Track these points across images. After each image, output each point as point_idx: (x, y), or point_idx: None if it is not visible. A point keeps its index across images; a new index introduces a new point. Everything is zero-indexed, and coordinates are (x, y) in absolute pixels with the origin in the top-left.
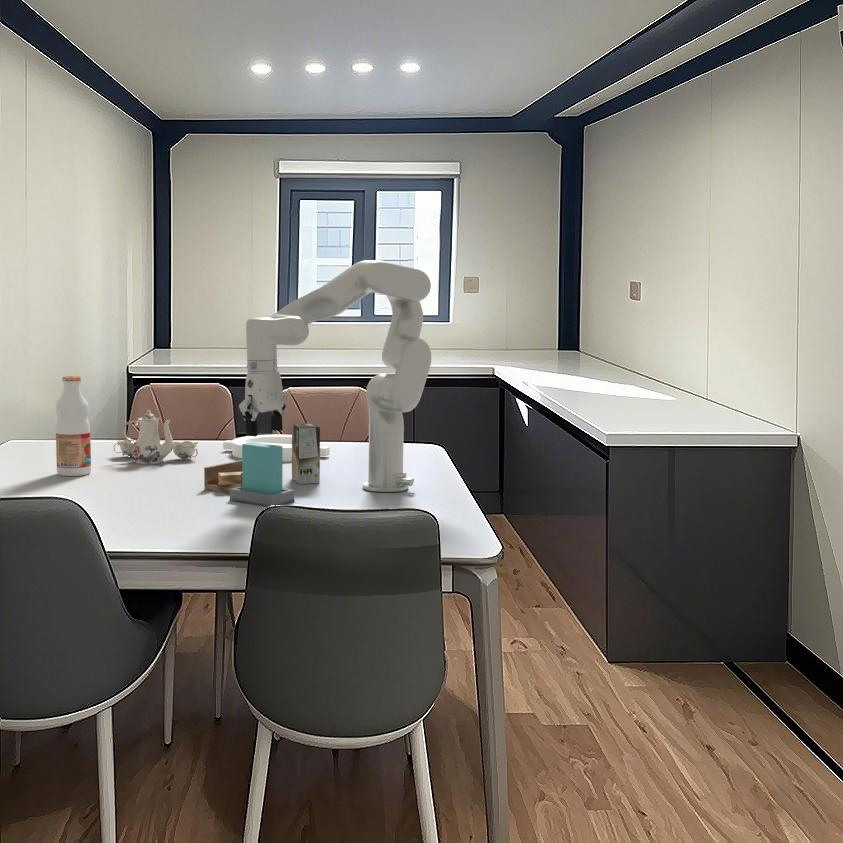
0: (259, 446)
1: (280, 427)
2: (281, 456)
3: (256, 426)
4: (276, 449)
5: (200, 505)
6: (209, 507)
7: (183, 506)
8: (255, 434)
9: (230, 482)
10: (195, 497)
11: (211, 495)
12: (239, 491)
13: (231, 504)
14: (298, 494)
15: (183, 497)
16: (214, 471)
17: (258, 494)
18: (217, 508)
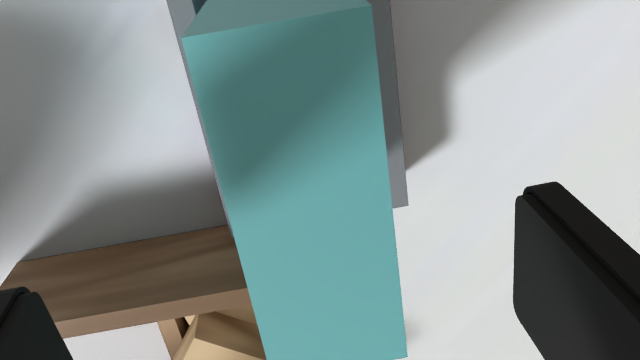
0: (389, 181)
1: (11, 318)
2: (210, 13)
3: (620, 257)
4: (289, 15)
5: (548, 180)
6: (557, 124)
7: (603, 208)
8: (564, 198)
9: None
10: (446, 306)
11: None
12: (401, 143)
13: (449, 109)
14: (30, 71)
15: (476, 329)
16: None
17: (389, 6)
18: (553, 83)
